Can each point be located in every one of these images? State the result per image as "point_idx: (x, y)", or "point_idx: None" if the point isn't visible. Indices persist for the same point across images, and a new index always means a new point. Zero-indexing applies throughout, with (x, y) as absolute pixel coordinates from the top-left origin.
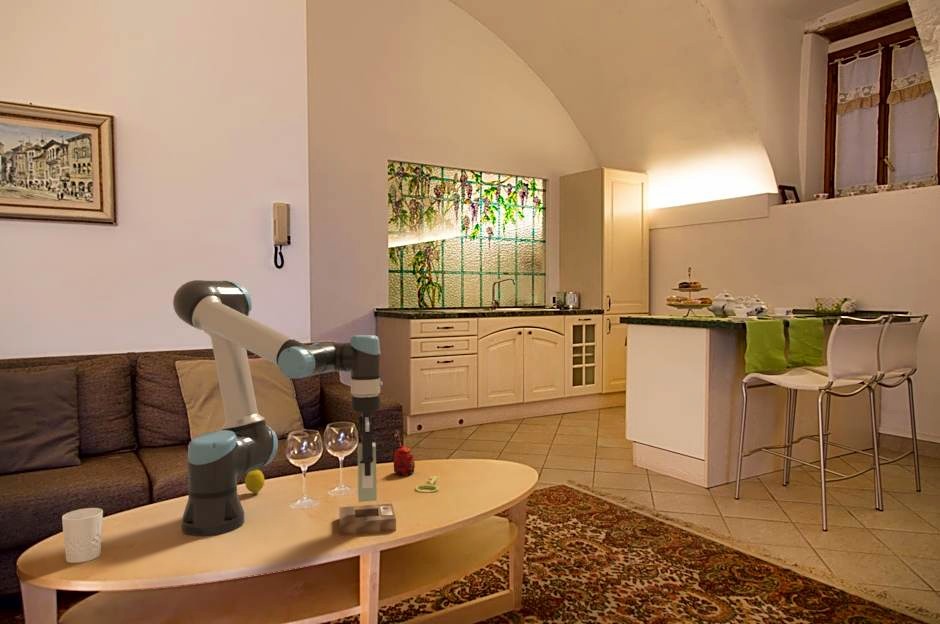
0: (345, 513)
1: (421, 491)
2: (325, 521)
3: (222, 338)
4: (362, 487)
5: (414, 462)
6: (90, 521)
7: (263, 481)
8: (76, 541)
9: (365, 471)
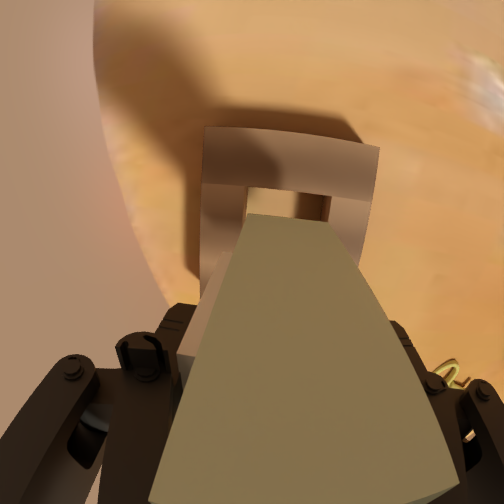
0: (302, 156)
1: (436, 371)
2: (352, 100)
3: None
4: (221, 254)
5: None
6: None
7: None
8: None
9: (160, 325)
